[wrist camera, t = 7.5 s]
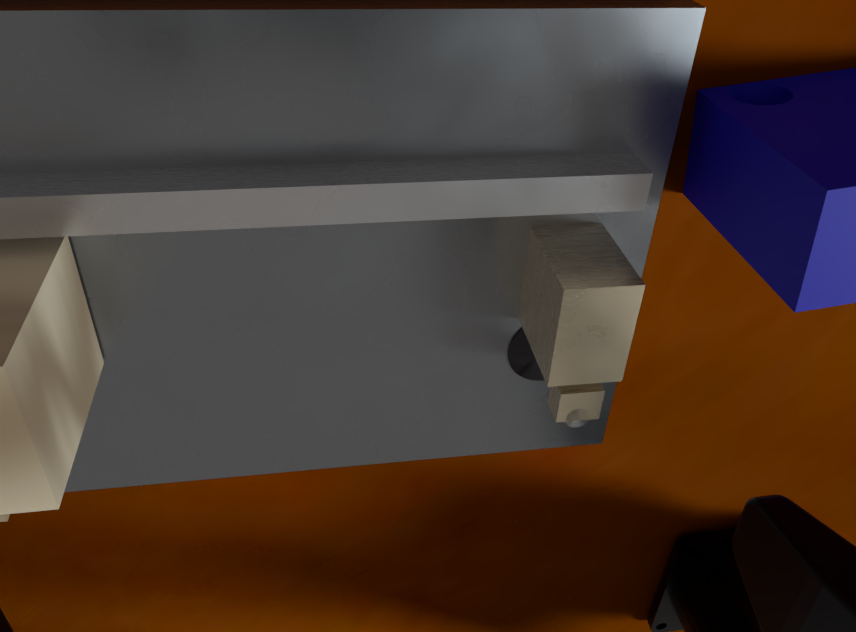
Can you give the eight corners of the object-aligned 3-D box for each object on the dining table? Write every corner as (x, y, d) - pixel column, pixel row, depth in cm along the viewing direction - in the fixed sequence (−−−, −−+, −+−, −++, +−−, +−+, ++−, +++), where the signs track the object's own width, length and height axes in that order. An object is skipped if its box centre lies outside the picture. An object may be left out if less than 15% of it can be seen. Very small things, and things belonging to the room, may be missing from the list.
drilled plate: (592, 422, 26) (634, 513, 23) (-23, 476, 23) (-73, 588, 20) (687, -3, 18) (775, 46, 15) (-248, -1, 15) (-394, 60, 12)
